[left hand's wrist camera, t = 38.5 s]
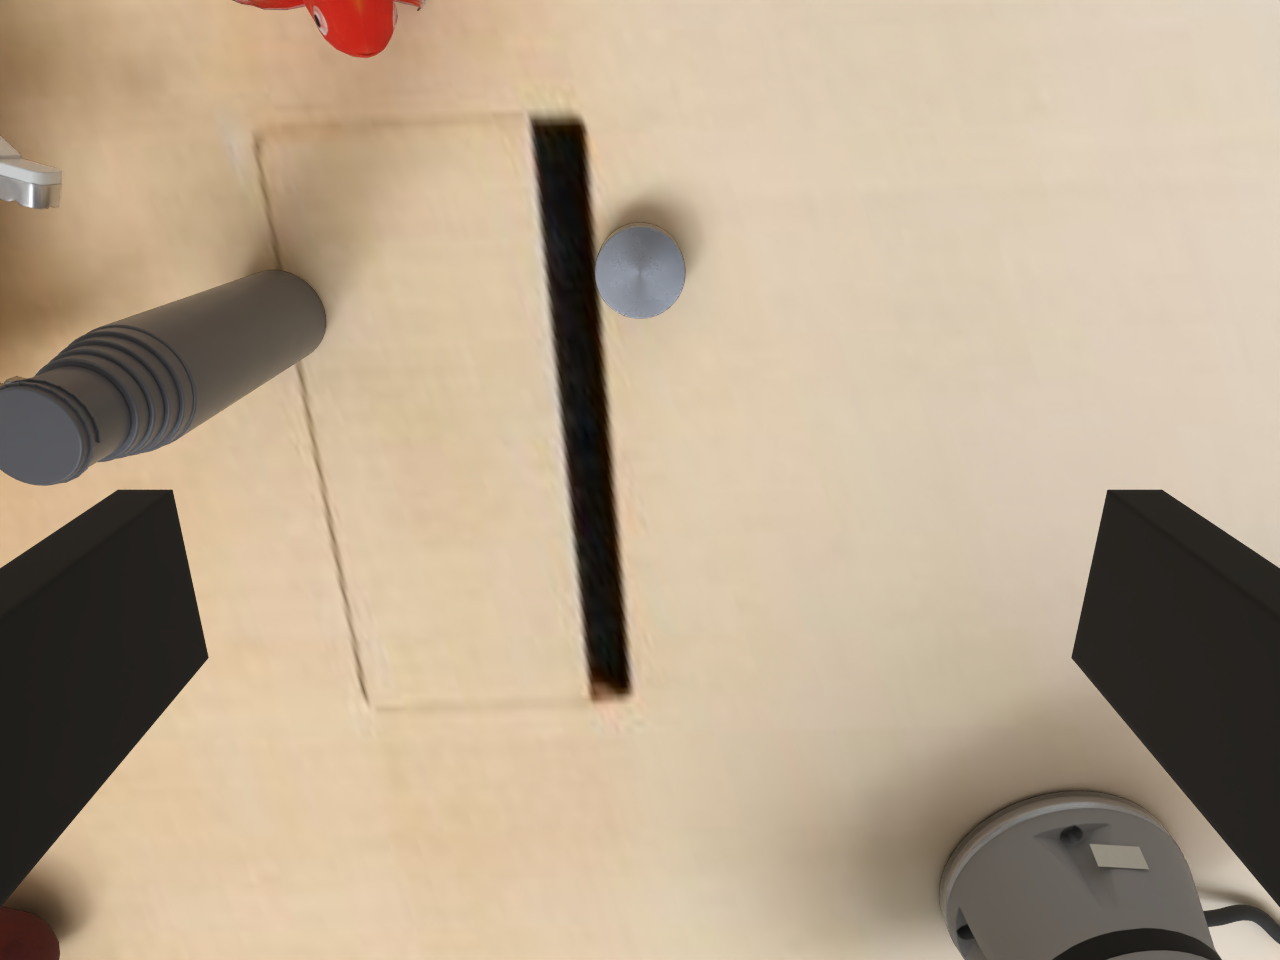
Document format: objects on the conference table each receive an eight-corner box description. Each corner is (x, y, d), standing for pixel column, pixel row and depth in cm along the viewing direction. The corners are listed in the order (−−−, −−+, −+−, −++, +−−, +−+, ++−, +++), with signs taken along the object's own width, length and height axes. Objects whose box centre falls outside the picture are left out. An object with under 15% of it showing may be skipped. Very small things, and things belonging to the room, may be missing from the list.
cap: (612, 321, 43) (610, 329, 41) (585, 237, 42) (582, 242, 40) (693, 296, 43) (696, 303, 41) (669, 210, 41) (670, 214, 39)
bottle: (295, 254, 42) (44, 338, 24) (343, 339, 43) (139, 475, 26) (216, 292, 43) (-84, 399, 25) (266, 373, 44) (15, 530, 26)
